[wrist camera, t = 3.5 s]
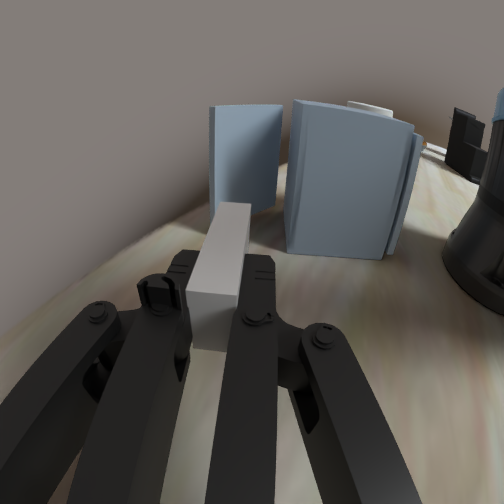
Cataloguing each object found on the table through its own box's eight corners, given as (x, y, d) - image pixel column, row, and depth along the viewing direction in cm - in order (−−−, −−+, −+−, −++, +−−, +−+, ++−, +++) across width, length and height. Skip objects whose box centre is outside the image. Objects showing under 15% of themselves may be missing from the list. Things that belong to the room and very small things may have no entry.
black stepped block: (492, 190, 65) (507, 125, 53) (470, 182, 67) (484, 114, 54) (464, 169, 85) (474, 115, 72) (443, 162, 86) (453, 106, 73)
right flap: (269, 203, 35) (276, 104, 29) (275, 205, 35) (283, 105, 28) (209, 227, 29) (209, 106, 23) (215, 230, 29) (215, 106, 22)
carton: (365, 217, 35) (384, 114, 28) (390, 261, 27) (425, 128, 19) (283, 209, 36) (293, 99, 28) (286, 253, 27) (303, 104, 20)
